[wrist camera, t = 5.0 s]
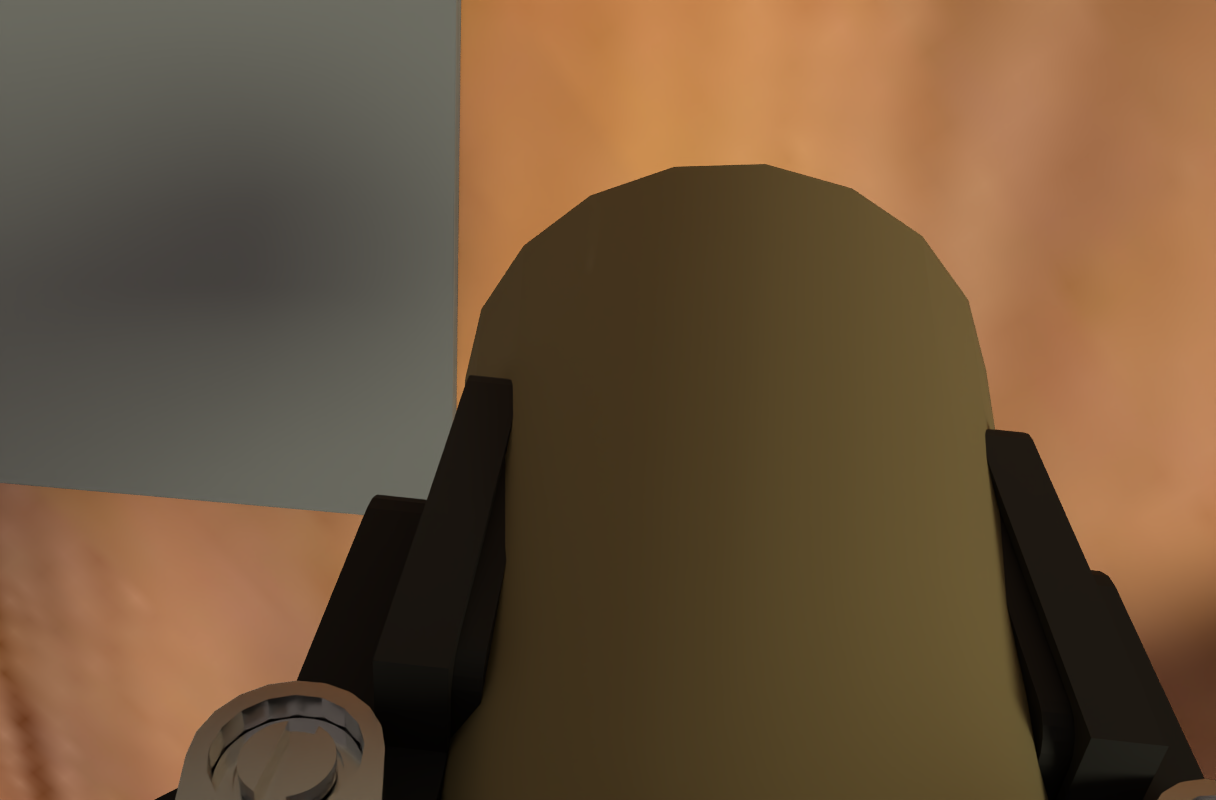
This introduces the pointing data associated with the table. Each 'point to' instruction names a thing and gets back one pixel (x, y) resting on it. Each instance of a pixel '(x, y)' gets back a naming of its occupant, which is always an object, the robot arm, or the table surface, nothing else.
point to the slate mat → (229, 247)
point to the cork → (743, 510)
